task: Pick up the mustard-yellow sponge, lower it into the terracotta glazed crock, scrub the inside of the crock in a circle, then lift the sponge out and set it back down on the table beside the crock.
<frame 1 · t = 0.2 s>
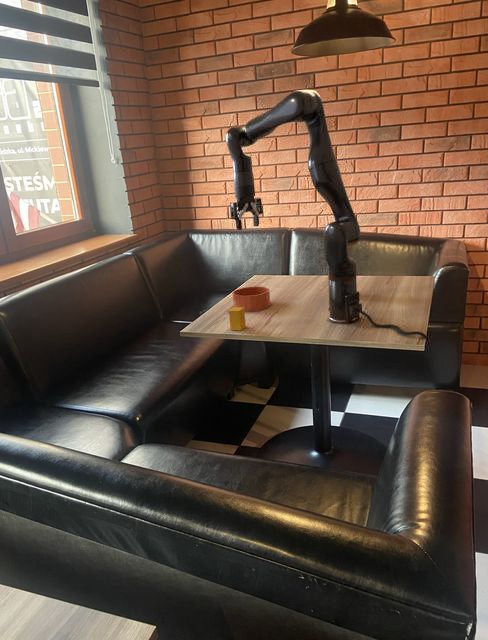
hand: (248, 228, 205), 29 cm above the table, tool pointing down, fingers open, 8 cm apart
crock: (252, 306, 209), on the table
sponge: (238, 328, 185), on the table
thermos bottle: (342, 296, 209), on the table
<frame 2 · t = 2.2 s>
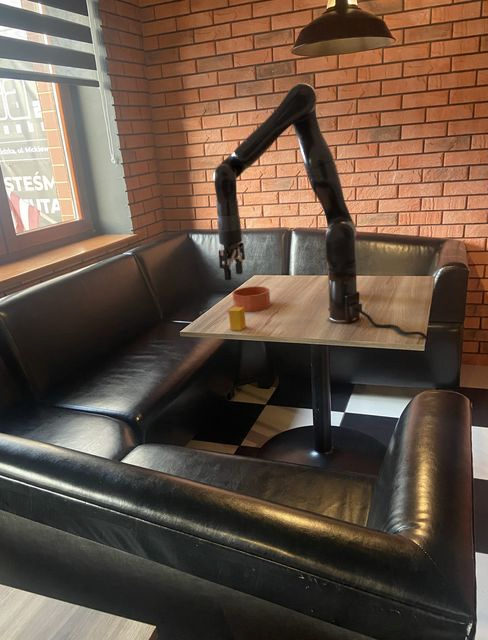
hand: (234, 276, 180), 18 cm above the table, tool pointing down, fingers open, 8 cm apart
nothing on the table moved.
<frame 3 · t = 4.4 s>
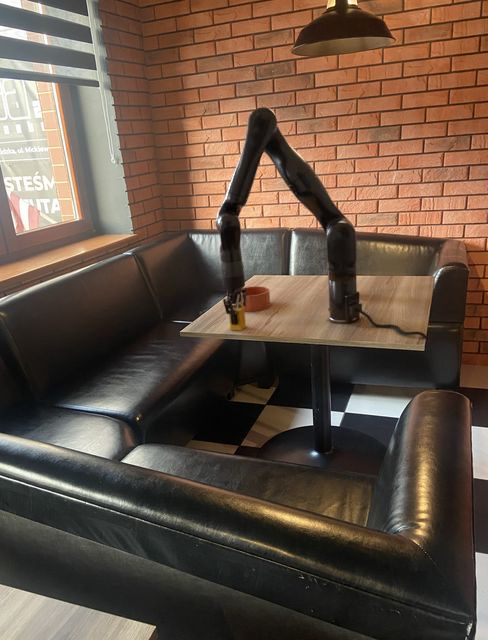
hand: (237, 322, 184), 2 cm above the table, tool pointing down, fingers closed on sponge, 4 cm apart
sponge: (238, 328, 185), on the table, touching gripper
everything else where it was.
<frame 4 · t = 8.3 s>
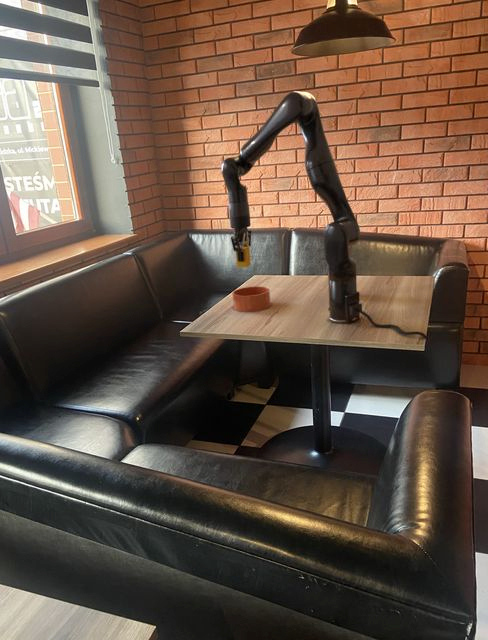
hand: (243, 260, 203), 18 cm above the table, tool pointing down, fingers closed on sponge, 4 cm apart
sponge: (243, 265, 204), point 16 cm above the table, touching gripper
everything else where it was.
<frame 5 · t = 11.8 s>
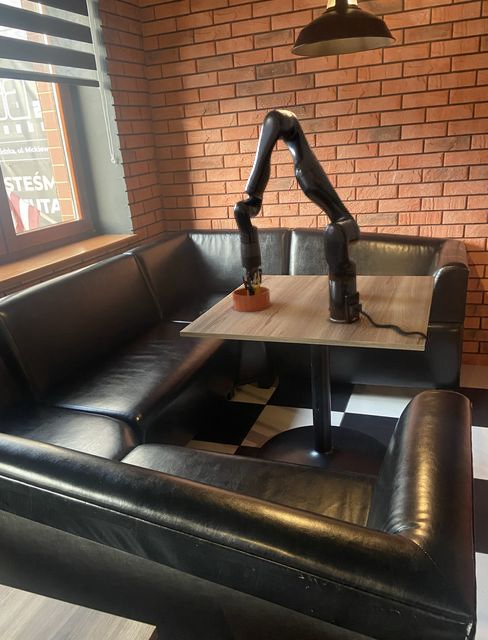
hand: (254, 297, 208), 3 cm above the table, tool pointing down, fingers closed on sponge, 4 cm apart
sponge: (254, 303, 208), point 1 cm above the table, touching gripper
everything else where it was.
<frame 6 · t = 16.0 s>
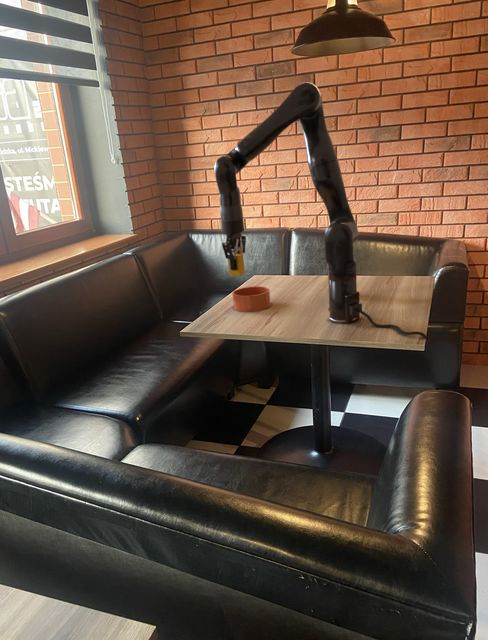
hand: (237, 268, 186), 19 cm above the table, tool pointing down, fingers closed on sponge, 4 cm apart
sponge: (237, 274, 187), point 17 cm above the table, touching gripper
everything else where it was.
when the fingers open (2 cm above the table, at t = 19.4 s): sponge stays where it is, on the table.
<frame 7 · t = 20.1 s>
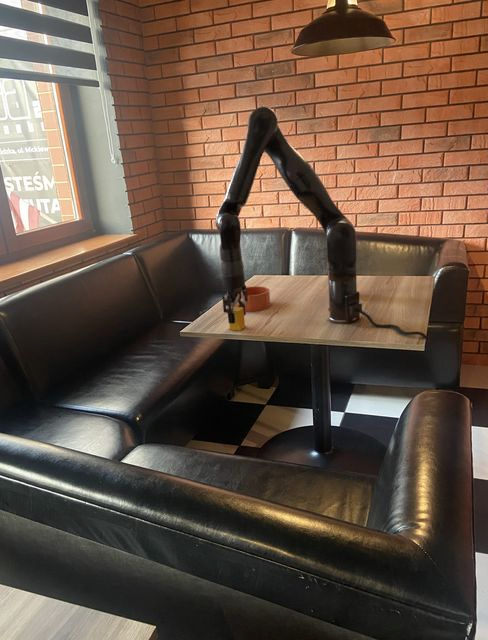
hand: (237, 319, 184), 3 cm above the table, tool pointing down, fingers open, 8 cm apart
sponge: (237, 328, 185), on the table
everything else where it was.
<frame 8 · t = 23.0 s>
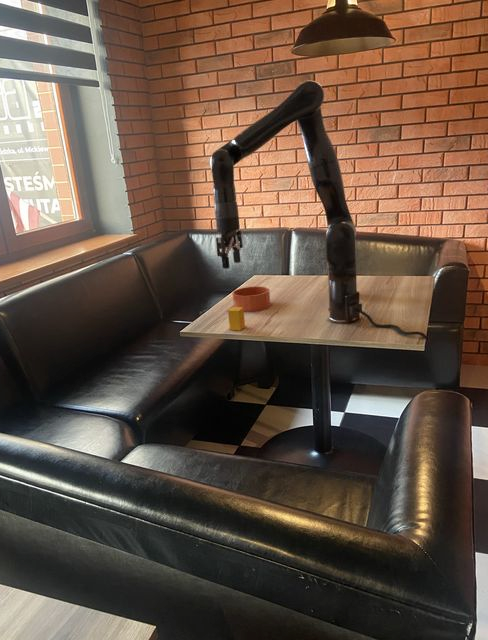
hand: (231, 265, 177), 22 cm above the table, tool pointing down, fingers open, 8 cm apart
nothing on the table moved.
at the end: sponge inside the target area on the table beside the crock (0.3 cm from its centre), on the table; sponge tilted 0°; the gripper is holding nothing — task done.
